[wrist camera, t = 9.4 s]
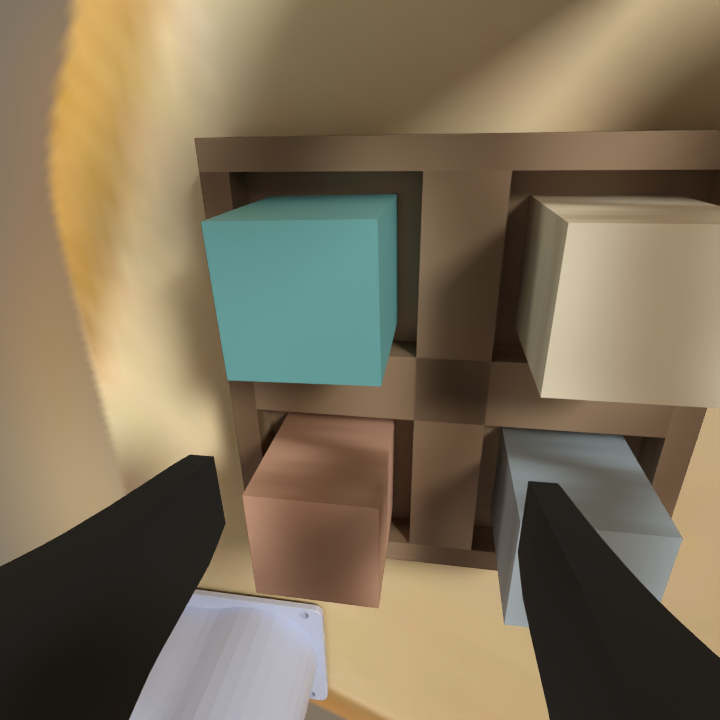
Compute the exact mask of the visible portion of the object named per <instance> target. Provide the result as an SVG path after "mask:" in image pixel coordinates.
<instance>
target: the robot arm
mask: <svg viewBox="0 0 720 720" xmlns="http://www.w3.org/2000/svg"><path fill="white" fill-rule="evenodd" d="M224 526H225V518H224V512H223V506H222V501H221V495H220V489H219V484H218V478H217V473H216V467H215V461H214V457H213V456H200V455H189V456H187V457H185V458H183V459H182V460H180V461H178V462H177V463H175V464H173V465H172V466H170V467H169V468H167V469H166V470H164V471H163V472H161V473H159V474H158V475H156V476H155V477H153V478H152V479H150V480H149V481H147V482H146V483H144V484H143V485H141V486H140V487H138V488H137V489H135V490H133V491H132V492H130V493H129V494H127V495H126V496H124V497H123V498H121V499H120V500H118V501H116V502H115V503H113V504H112V505H110V506H109V507H107V508H105V509H104V510H102V511H100V512H99V513H97V514H95V515H94V516H92V517H90V518H89V519H87V520H85V521H84V522H82V523H80V524H79V525H77V526H75V527H74V528H72V529H71V530H69V531H67V532H66V533H64V534H62V535H60V536H58V537H56V538H55V539H53V540H51V541H49V542H47V543H46V544H44V545H42V546H40V547H38V548H36V549H34V550H32V551H30V552H28V553H26V554H24V555H22V556H20V557H18V558H16V559H14V560H12V561H11V562H8V563H7V564H5V565H2V566H0V720H304V719H305V715H306V711H307V707H308V702H309V698H310V699H316V700H325V699H326V698H327V695H328V679H327V664H326V649H325V634H324V619H323V610H322V609H321V608H320V607H319V606H317V605H313V604H306V603H298V602H290V601H282V600H275V599H267V598H259V597H251V596H244V595H236V594H228V593H220V592H213V591H205V590H197V589H196V588H197V586H198V584H199V582H200V580H201V579H202V577H203V575H204V573H205V571H206V569H207V567H208V566H209V564H210V561H211V559H212V557H213V554H214V552H215V549H216V547H217V544H218V542H219V539H220V537H221V534H222V531H223V529H224ZM518 561H519V570H520V580H521V588H522V597H523V602H524V607H525V611H526V616H527V620H528V625H529V629H530V634H531V638H532V642H533V647H534V651H535V656H536V660H537V664H538V669H539V673H540V677H541V682H542V686H543V691H544V695H545V699H546V704H547V708H548V713H549V718H550V720H720V658H719V657H718V656H717V655H716V654H715V653H714V652H712V651H711V650H710V649H709V648H708V647H707V646H706V645H705V644H704V643H703V642H701V641H700V640H699V639H698V638H697V637H696V636H695V635H694V634H693V633H692V632H691V631H690V630H688V629H687V628H686V627H685V626H684V625H683V624H682V623H681V622H680V621H679V620H678V619H677V618H676V617H674V616H673V615H672V614H671V613H670V612H669V611H668V610H667V609H666V608H665V607H664V606H663V605H662V604H661V603H660V602H659V601H658V600H657V599H656V597H655V596H654V595H653V594H652V593H651V592H650V591H649V590H648V589H647V588H646V587H645V586H644V585H643V584H642V583H641V582H640V581H639V580H638V578H637V577H636V576H635V575H634V574H633V573H632V572H631V571H630V570H629V569H628V567H627V566H626V565H625V564H624V563H623V562H622V561H621V559H620V558H619V557H618V556H617V555H616V554H615V553H614V551H613V550H612V549H611V548H610V547H609V546H608V544H607V543H606V542H605V541H604V540H603V539H602V537H601V536H600V535H599V534H598V533H597V531H596V530H595V529H594V528H593V526H592V525H591V524H590V523H589V521H588V520H587V519H586V518H585V516H584V515H583V514H582V513H581V511H580V510H579V509H578V508H577V506H576V505H575V504H574V502H573V501H572V500H571V499H570V497H569V496H568V495H567V493H566V492H565V491H564V490H563V488H562V487H561V486H560V485H559V484H558V483H549V482H536V481H528V486H527V492H526V499H525V506H524V513H523V519H522V526H521V533H520V540H519V546H518Z"/></svg>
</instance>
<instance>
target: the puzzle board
mask: <svg viewBox="0 0 720 720" xmlns="http://www.w3.org/2000/svg"><path fill="white" fill-rule="evenodd" d="M195 145H196V153H197V160H198V167H199V174H200V181H201V188H202V195H203V202H204V209H205V216H206V220H207V219H209V218H212V217H215V216H218V215H220V214H223V213H226V212H229V211H231V210H234V209H237V208H240V207H242V206H245V205H248V204H251V203H253V202H256V201H259V200H262V199H264V198H267V197H270V196H309V195H354V194H398V321H397V325H396V329H395V333H394V337H393V341H392V345H391V349H390V353H389V357H388V361H387V365H386V369H385V373H384V377H383V381H382V385H381V386H357V385H332V384H307V383H282V382H257V381H232V380H229V384H230V391H231V398H232V405H233V412H234V419H235V426H236V433H237V440H238V447H239V454H240V461H241V468H242V475H243V482H244V489H245V491H244V493H243V495H242V497H243V504H244V511H245V518H246V524H247V531H248V538H249V545H250V552H251V559H252V566H253V572H254V579H255V586H256V593H263V594H271V595H278V596H286V597H294V598H302V599H310V600H318V601H325V602H333V603H341V604H349V605H357V606H365V607H372V608H379V601H380V594H381V587H382V580H383V573H384V565H385V558H390V559H398V560H407V561H416V562H425V563H434V564H443V565H452V566H461V567H470V568H479V569H487V570H496V571H498V577H499V585H500V593H501V602H502V610H503V618H504V624H505V625H513V626H521V627H529V625H528V620H527V616H526V611H525V607H524V602H523V597H522V588H521V580H520V570H519V561H518V546H519V540H520V533H521V526H522V519H523V513H524V506H525V499H526V492H527V486H528V481H536V482H549V483H558V484H559V485H560V486H561V487H562V488H563V490H564V491H565V492H566V493H567V495H568V496H569V497H570V499H571V500H572V501H573V502H574V504H575V505H576V506H577V508H578V509H579V510H580V511H581V513H582V514H583V515H584V516H585V518H586V519H587V520H588V521H589V523H590V524H591V525H592V526H593V528H594V529H595V530H596V531H597V533H598V534H599V535H600V536H601V537H602V539H603V540H604V541H605V542H606V543H607V544H608V546H609V547H610V548H611V549H612V550H613V551H614V553H615V554H616V555H617V556H618V557H619V558H620V559H621V561H622V562H623V563H624V564H625V565H626V566H627V567H628V569H629V570H630V571H631V572H632V573H633V574H634V575H635V576H636V577H637V578H638V580H639V581H640V582H641V583H642V584H643V585H644V586H645V587H646V588H647V589H648V590H649V591H650V592H651V593H652V594H653V595H654V596H655V597H656V599H657V600H658V601H659V602H661V600H662V597H663V594H664V591H665V588H666V585H667V582H668V579H669V576H670V574H671V571H672V568H673V565H674V562H675V559H676V556H677V553H678V551H679V548H680V545H681V542H682V539H683V538H682V536H681V535H680V533H679V531H678V529H677V528H676V526H675V524H674V523H673V521H672V519H671V517H672V514H673V511H674V508H675V505H676V502H677V499H678V496H679V493H680V490H681V487H682V484H683V480H684V477H685V474H686V471H687V468H688V465H689V462H690V459H691V456H692V453H693V450H694V447H695V444H696V441H697V438H698V435H699V432H700V428H701V425H702V422H703V419H704V416H705V413H706V410H707V408H720V130H668V131H604V132H541V133H477V134H414V135H350V136H287V137H224V138H195Z"/></svg>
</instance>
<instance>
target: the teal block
mask: <svg viewBox="0 0 720 720" xmlns="http://www.w3.org/2000/svg"><path fill="white" fill-rule="evenodd" d="M201 226H202V232H203V238H204V244H205V249H206V255H207V261H208V267H209V273H210V279H211V285H212V291H213V297H214V303H215V309H216V315H217V321H218V327H219V333H220V339H221V345H222V351H223V356H224V362H225V368H226V374H227V380H232V381H257V382H282V383H307V384H332V385H357V386H381V385H382V381H383V377H384V373H385V369H386V365H387V361H388V357H389V353H390V349H391V345H392V341H393V337H394V333H395V329H396V325H397V321H398V194H354V195H309V196H270V197H267V198H264V199H262V200H259V201H256V202H253V203H251V204H248V205H245V206H242V207H240V208H237V209H234V210H231V211H229V212H226V213H223V214H220V215H218V216H215V217H212V218H209V219H207V220H204V221H201Z"/></svg>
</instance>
